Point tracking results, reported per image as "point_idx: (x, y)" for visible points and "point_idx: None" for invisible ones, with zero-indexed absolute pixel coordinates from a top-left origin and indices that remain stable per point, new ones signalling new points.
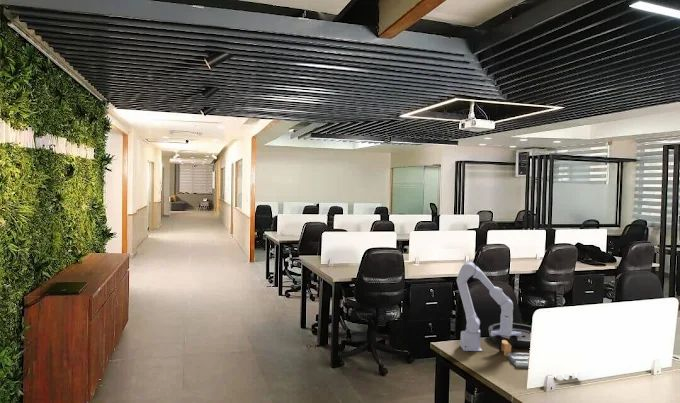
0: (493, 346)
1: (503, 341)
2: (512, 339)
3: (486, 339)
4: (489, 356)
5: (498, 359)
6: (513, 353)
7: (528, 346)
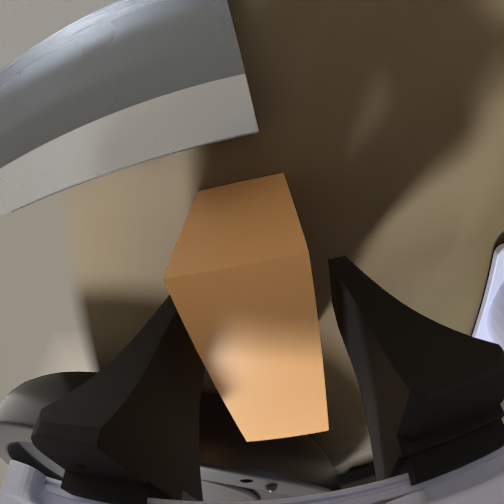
0: (346, 386)
1: (294, 410)
2: (128, 428)
3: (351, 449)
4: (473, 114)
5: (389, 21)
6: (149, 110)
7: (49, 389)
